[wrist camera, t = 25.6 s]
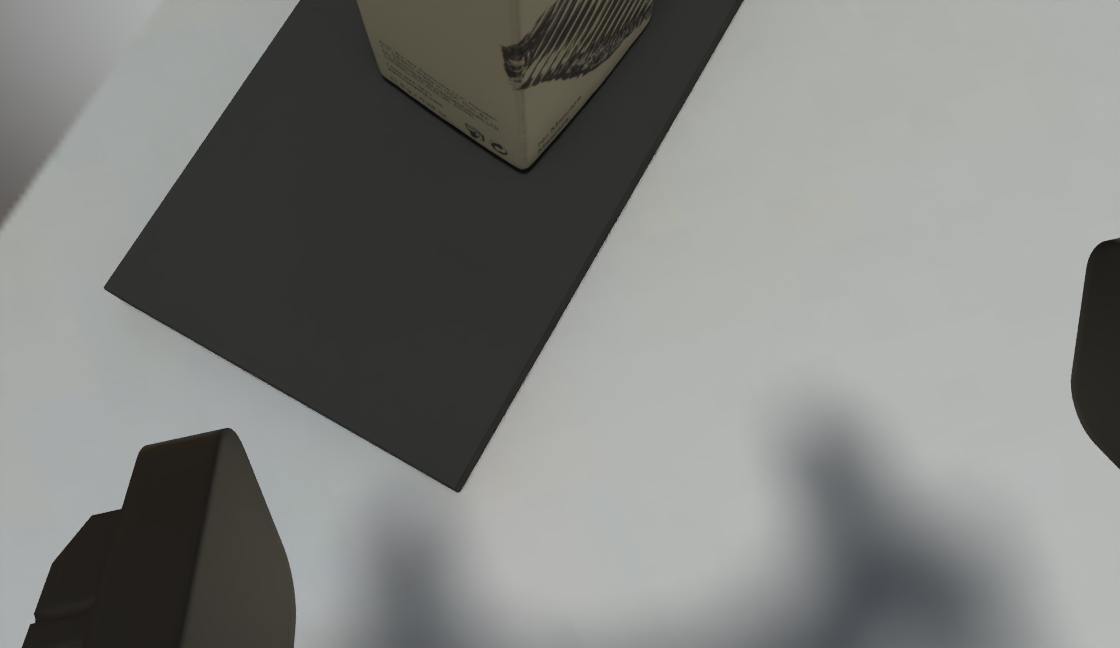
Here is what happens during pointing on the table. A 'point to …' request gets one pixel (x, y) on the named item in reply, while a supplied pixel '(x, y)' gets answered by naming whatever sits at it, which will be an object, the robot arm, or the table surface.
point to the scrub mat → (398, 232)
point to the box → (503, 61)
